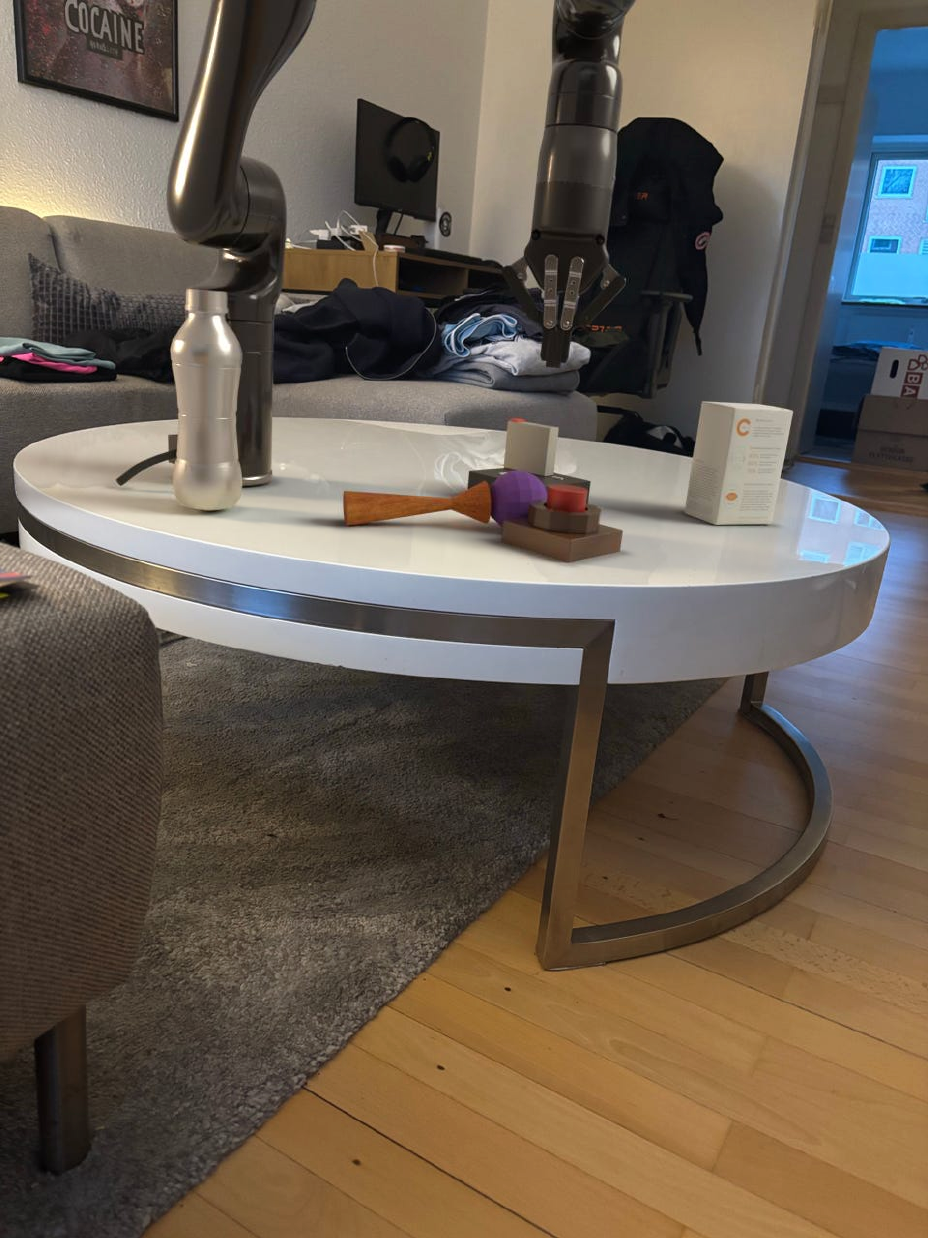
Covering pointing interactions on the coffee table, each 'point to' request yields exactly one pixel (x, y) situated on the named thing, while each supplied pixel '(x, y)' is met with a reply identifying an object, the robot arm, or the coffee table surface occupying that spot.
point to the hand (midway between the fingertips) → (553, 367)
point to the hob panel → (493, 474)
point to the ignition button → (566, 498)
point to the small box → (737, 463)
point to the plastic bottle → (206, 405)
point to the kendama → (451, 501)
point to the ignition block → (562, 533)
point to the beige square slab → (530, 447)
